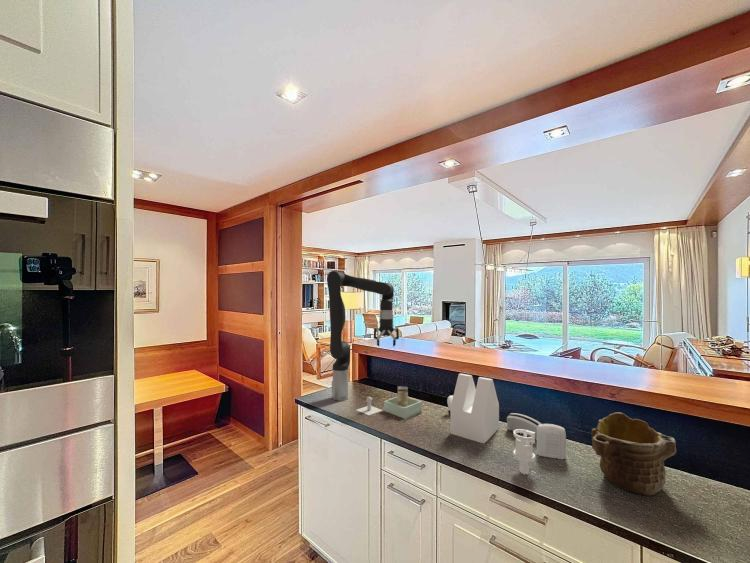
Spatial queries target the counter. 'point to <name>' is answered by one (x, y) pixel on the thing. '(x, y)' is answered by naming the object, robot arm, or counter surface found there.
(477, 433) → the white notched block
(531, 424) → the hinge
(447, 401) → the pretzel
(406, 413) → the bin
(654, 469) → the ceramic vessel
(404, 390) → the strut
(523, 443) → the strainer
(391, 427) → the counter surface
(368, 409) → the stud base
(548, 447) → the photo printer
